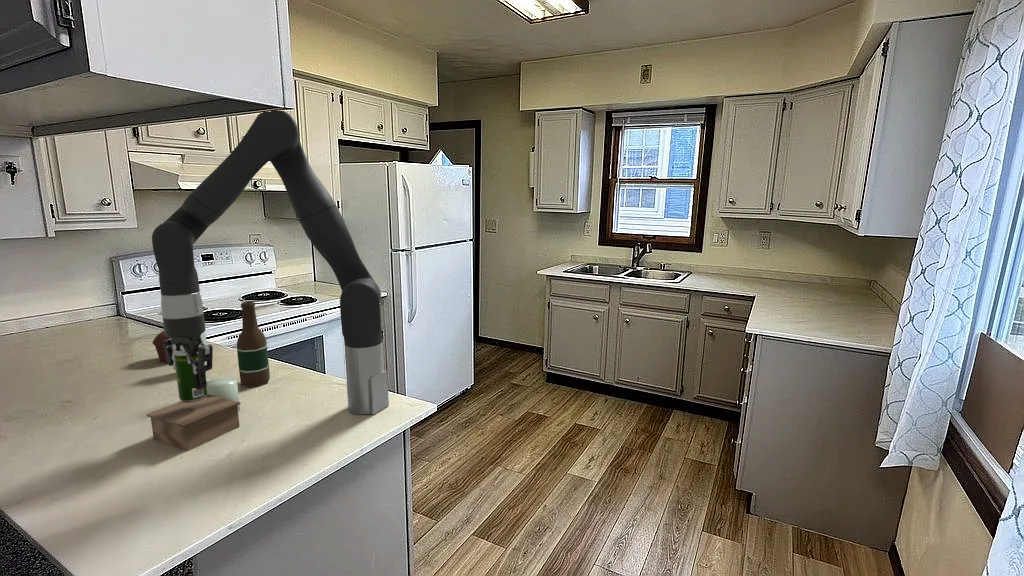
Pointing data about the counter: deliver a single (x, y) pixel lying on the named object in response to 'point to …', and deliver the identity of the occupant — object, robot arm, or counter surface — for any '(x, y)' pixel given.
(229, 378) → the pale green capsule
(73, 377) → the counter surface
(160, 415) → the podium
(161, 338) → the muffin
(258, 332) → the beer bottle
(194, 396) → the beer can
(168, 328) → the robot arm
